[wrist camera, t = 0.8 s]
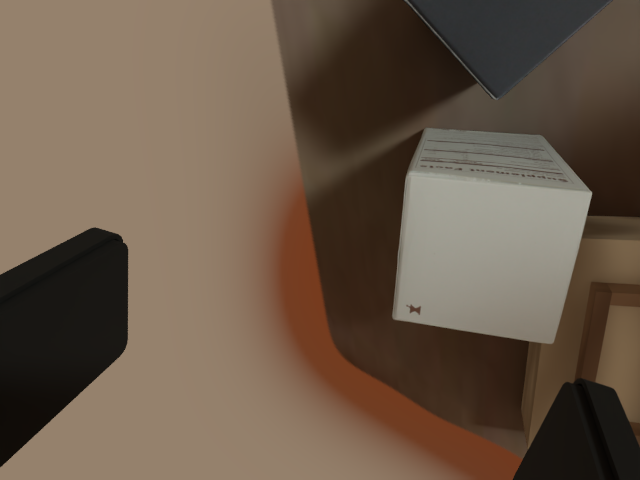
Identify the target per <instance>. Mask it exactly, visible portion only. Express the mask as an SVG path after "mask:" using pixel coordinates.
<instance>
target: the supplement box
mask: <svg viewBox="0 0 640 480" xmlns="http://www.w3.org/2000/svg"><path fill="white" fill-rule="evenodd" d="M591 197H592V192H591V191H590V190H589V189H588V188H587V186H586V185H585V184H584V183H583V182H582V180H581V179H580V178H579V177H578V176H577V175H576V174H575V173H574V171H573V170H572V169H571V168H570V167H569V166H568V164H567V163H566V162H565V161H564V160H563V159H562V158H561V156H560V155H559V154H558V153H557V152H556V151H555V149H554V148H553V147H552V146H551V145H550V144H549V143H548V142H547V140H546V139H545V138H544V137H543V136H542V135H529V134H512V133H497V132H482V131H467V130H452V129H436V128H425V129H424V131H423V133H422V136H421V139H420V141H419V144H418V146H417V149H416V151H415V153H414V156H413V158H412V160H411V163H410V165H409V168H408V171H407V175H406V179H405V189H404V200H403V211H402V221H401V231H400V241H399V250H398V264H397V274H396V285H395V294H394V304H393V313H392V318H393V319H394V320H399V321H407V322H413V323H419V324H425V325H431V326H438V327H444V328H450V329H456V330H462V331H469V332H475V333H481V334H487V335H493V336H500V337H506V338H513V339H518V340H525V341H531V342H537V343H546V344H552V343H554V340H555V336H556V333H557V329H558V326H559V322H560V319H561V315H562V311H563V307H564V303H565V300H566V296H567V292H568V288H569V284H570V280H571V276H572V272H573V269H574V265H575V261H576V257H577V253H578V249H579V245H580V241H581V237H582V233H583V229H584V225H585V221H586V217H587V213H588V209H589V205H590V200H591Z"/></svg>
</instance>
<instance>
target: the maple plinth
mask: <svg viewBox="0 0 640 480" xmlns="http://www.w3.org/2000/svg"><path fill="white" fill-rule="evenodd" d="M578 378H583V379H586V380H589V381H592V382H596V383H599V384H602V385H605V386H609V387H611V388H613V389H614V390H615V391H616V393H617V395H618V397H619V399H620V402H621V404H622V406H623V409H624V411H625V413H626V416H627V418H628V420H629V423H630V425H631V427H632V430H633V432H634V434H635V437H636V439H637V441H638V444H639V446H640V217H619V216H587V217H586V221H585V225H584V229H583V233H582V237H581V241H580V245H579V249H578V253H577V257H576V261H575V265H574V269H573V272H572V276H571V280H570V284H569V288H568V292H567V296H566V300H565V303H564V307H563V311H562V315H561V319H560V322H559V326H558V329H557V333H556V336H555V340H554V343H552V344H546V343H537V342H531V341H529V348H528V356H527V364H526V373H525V381H524V389H523V398H522V406H521V412H522V418H523V424H524V430H525V436H526V443H527V449H529V447H530V445H531V443H532V441H533V440H534V438H535V436H536V434H537V432H538V430H539V428H540V426H541V424H542V423H543V421H544V419H545V417H546V415H547V413H548V411H549V409H550V407H551V406H552V404H553V402H554V400H555V398H556V396H557V394H558V392H559V390H560V389H561V387H562V385H563V384H564V383H565V382H570V383H574V381H576V380H577V379H578Z"/></svg>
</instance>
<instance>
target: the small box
mask: <svg viewBox="0 0 640 480" xmlns="http://www.w3.org/2000/svg"><path fill="white" fill-rule="evenodd" d="M403 1H404V2H406V3H407V4H408V5H409V6H410V7H411V9H412V10H413V11H414V12H415V13H416V14H417V15H418V17H419V18H420V19H421V20H422V21H423V22H424V23H425V25H426V26H427V27H428V28H429V29H430V30H431V31H432V32H433V33H434V34H435V36H436V37H437V38H438V39H439V40H440V41H441V42H442V43H443V44H444V45H445V47H446V48H447V49H448V50H449V51H450V52H451V53H452V54H453V55H454V57H455V58H456V59H457V60H458V61H459V62H460V63H461V65H462V66H463V67H464V68H465V69H466V70H467V71H468V72H469V73H470V74H471V75H472V77H473V78H474V79H475V80H476V81H477V83H478V84H479V85H480V86H481V87H482V88H483V89H484V90H485V92H486V93H487V94H489V96H490V97H491V98H492V99H495V100H499V99H500V98H501V97H503V96H504V95H505V94H506V93H507V92H509V91H510V90H511V89H512V88H513V87H514V86H515V85H516V84H518V83H519V82H520V81H521V80H522V79H523V78H524V77H526V76H527V75H528V74H529V73H530V72H531V71H532V70H534V69H535V68H536V67H537V66H538V65H539V64H540V63H542V62H543V61H544V60H545V59H546V58H547V57H549V56H550V55H551V54H552V53H553V52H554V51H555V50H557V49H558V48H559V47H560V46H561V45H562V44H563V43H565V42H566V41H567V40H568V39H569V38H570V37H571V36H573V35H574V34H575V33H576V32H577V31H578V30H579V29H581V28H582V27H583V26H584V25H585V24H586V23H587V22H589V21H590V20H591V19H592V18H593V17H594V16H595V15H597V14H598V13H599V12H600V11H601V10H602V9H603V8H605V7H606V6H607V5H608V4H609V3H610V2H611V1H613V0H403Z"/></svg>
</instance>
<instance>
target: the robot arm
mask: <svg viewBox="0 0 640 480" xmlns="http://www.w3.org/2000/svg"><path fill="white" fill-rule="evenodd" d="M127 340H128V247H127V245H126V244H125V243H123V239H122V237H121V236H120V235H118V234H115V233H112V232H109V231H106V230H102V229H99V228H91V229H89V230H87V231H85V232H83V233H81V234H79V235H77V236H75V237H73V238H71V239H69V240H67V241H65V242H63V243H61V244H60V245H57V246H56V247H53V248H52V249H50V250H48V251H46V252H44V253H42V254H40V255H38V256H36V257H34V258H32V259H30V260H28V261H26V262H24V263H22V264H20V265H18V266H17V267H15V268H13V269H11V270H9V271H7V272H5V273H3V274H1V275H0V467H1V466H2V465H3V464H4V463H6V462H7V461H8V460H9V459H10V458H11V457H12V456H13V455H14V454H15V453H16V452H17V451H18V450H20V448H22V447H23V446H24V445H25V444H26V443H27V442H28V441H29V440H30V439H31V438H32V437H33V436H34V435H36V434H37V433H38V432H39V431H40V430H41V429H42V428H43V427H44V426H45V425H46V424H48V423H49V422H50V421H51V420H52V419H53V418H54V417H55V416H56V415H57V414H58V413H59V412H60V411H61V410H62V409H64V408H65V407H66V406H67V405H68V404H69V403H70V402H71V401H72V400H73V399H74V398H76V397H77V396H78V395H79V394H80V392H82V391H83V390H84V389H85V388H86V387H87V386H88V385H89V384H91V383H92V382H93V381H94V380H95V379H96V378H97V377H98V376H99V375H100V374H101V373H102V372H103V371H105V369H107V368H108V367H109V366H110V365H111V364H112V363H113V362H114V361H115V360H116V359H117V358H119V357H120V355H121V354H122V353H123V351H124V350H125V348H126V345H127ZM513 480H640V446H639V444H638V441H637V439H636V437H635V434H634V432H633V430H632V427H631V425H630V423H629V420H628V418H627V416H626V413H625V411H624V409H623V406H622V404H621V402H620V399H619V397H618V395H617V393H616V391H615V390H614V389H613V388H611V387H609V386H605V385H602V384H599V383H596V382H592V381H589V380H586V379H583V378H578V379H577V380H576V381H574V383H570V382H565V383H564V384H563V385H562V387H561V389H560V390H559V392H558V394H557V396H556V398H555V400H554V402H553V404H552V406H551V407H550V409H549V411H548V413H547V415H546V417H545V419H544V421H543V423H542V424H541V426H540V428H539V430H538V432H537V434H536V436H535V438H534V440H533V441H532V443H531V445H530V447H529V449H528V451H527V453H526V455H525V457H524V458H523V460H522V462H521V465H520V466H519V468H518V470H517V472H516V474H515V476H514V478H513Z"/></svg>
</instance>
